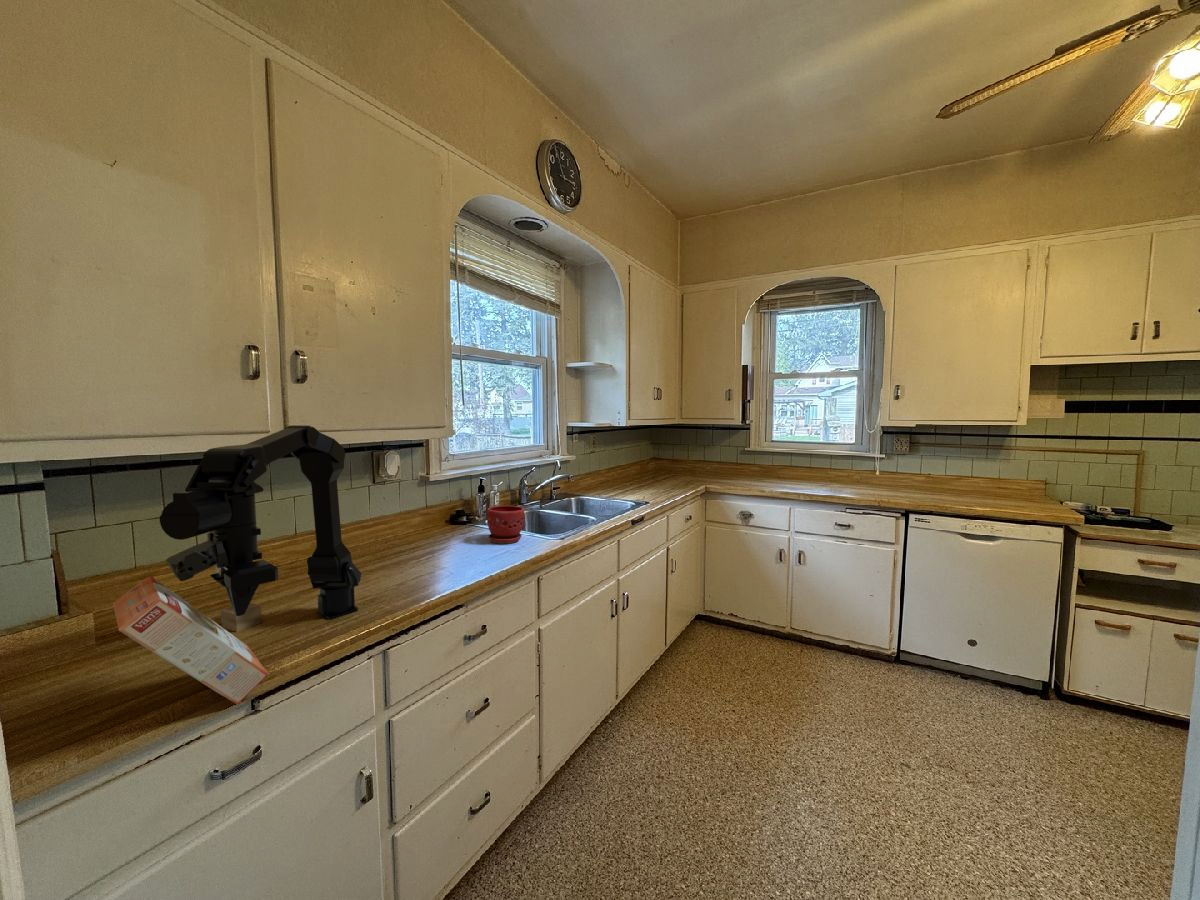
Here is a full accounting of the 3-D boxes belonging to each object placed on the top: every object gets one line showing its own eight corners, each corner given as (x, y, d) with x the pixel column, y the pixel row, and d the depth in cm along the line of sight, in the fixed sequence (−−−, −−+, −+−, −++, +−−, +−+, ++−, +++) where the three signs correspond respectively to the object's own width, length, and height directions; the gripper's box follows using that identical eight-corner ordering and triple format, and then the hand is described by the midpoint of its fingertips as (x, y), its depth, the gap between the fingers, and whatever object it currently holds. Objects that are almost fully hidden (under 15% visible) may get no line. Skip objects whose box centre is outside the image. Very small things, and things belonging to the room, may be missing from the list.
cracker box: (272, 672, 77) (160, 596, 66) (237, 707, 74) (114, 632, 63) (251, 643, 87) (149, 572, 76) (219, 673, 83) (108, 603, 72)
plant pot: (515, 546, 162) (515, 512, 161) (480, 544, 165) (480, 510, 164) (530, 537, 175) (529, 505, 174) (497, 534, 178) (497, 503, 177)
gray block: (246, 618, 105) (245, 601, 105) (261, 622, 104) (260, 605, 103) (221, 628, 101) (220, 610, 100) (237, 632, 99) (235, 614, 99)
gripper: (157, 524, 77) (163, 616, 78) (185, 543, 66) (191, 651, 67) (239, 513, 86) (244, 596, 87) (277, 528, 75) (281, 624, 76)
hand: (239, 615), depth 79 cm, fingers closed
